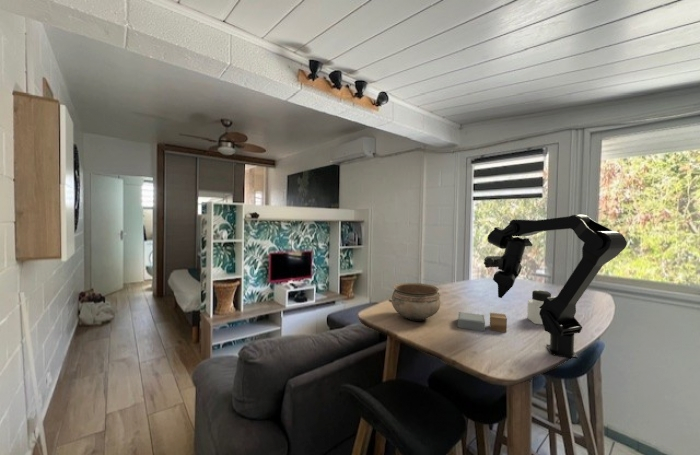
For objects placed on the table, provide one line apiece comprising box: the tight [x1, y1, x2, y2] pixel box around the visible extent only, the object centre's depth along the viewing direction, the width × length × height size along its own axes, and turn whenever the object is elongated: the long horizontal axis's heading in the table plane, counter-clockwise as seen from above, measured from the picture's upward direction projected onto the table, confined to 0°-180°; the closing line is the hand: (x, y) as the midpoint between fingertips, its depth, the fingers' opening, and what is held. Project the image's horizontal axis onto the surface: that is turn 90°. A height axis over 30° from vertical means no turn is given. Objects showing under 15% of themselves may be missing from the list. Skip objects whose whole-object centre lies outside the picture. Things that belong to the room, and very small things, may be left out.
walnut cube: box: [489, 312, 508, 333], centre depth 104 cm, size 5×5×5 cm
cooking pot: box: [388, 282, 441, 322], centre depth 115 cm, size 25×19×12 cm
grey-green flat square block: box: [457, 311, 486, 332], centre depth 108 cm, size 9×9×3 cm
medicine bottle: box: [526, 289, 552, 326], centre depth 112 cm, size 7×7×12 cm
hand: (502, 293), depth 106 cm, fingers open, 9 cm apart
